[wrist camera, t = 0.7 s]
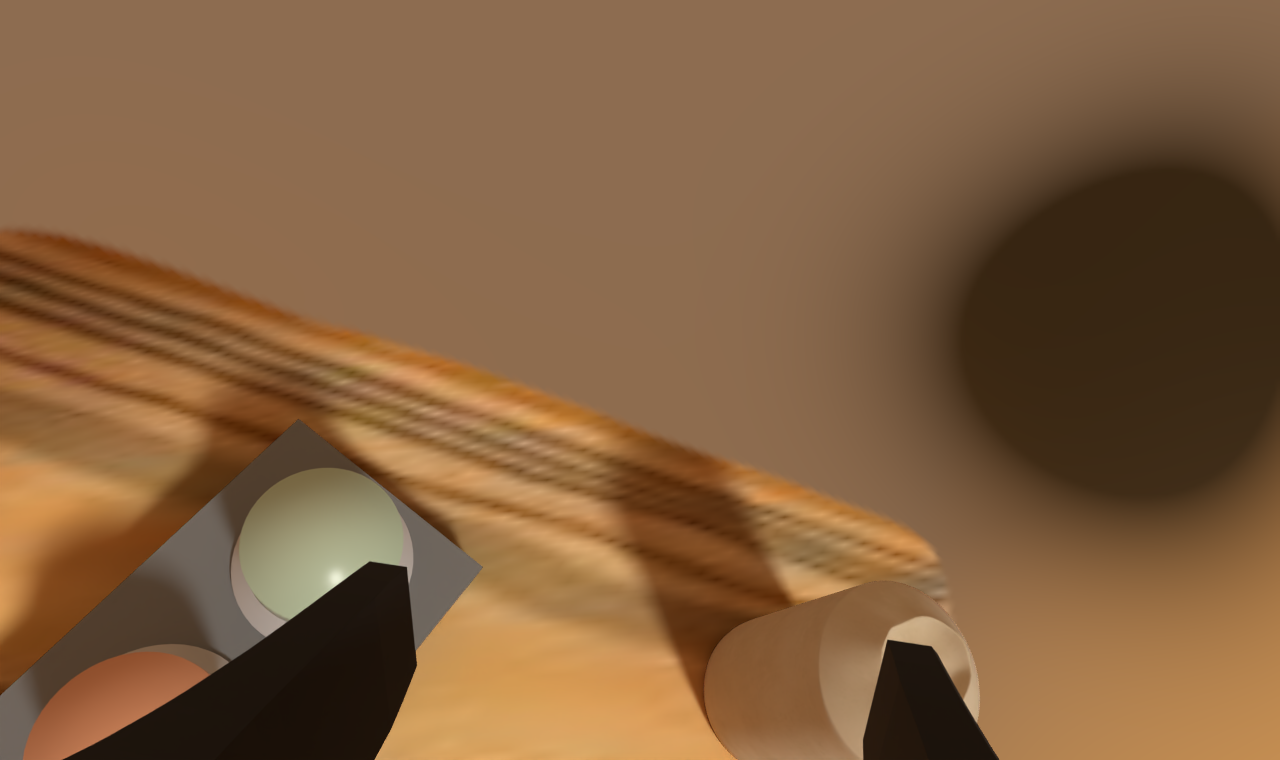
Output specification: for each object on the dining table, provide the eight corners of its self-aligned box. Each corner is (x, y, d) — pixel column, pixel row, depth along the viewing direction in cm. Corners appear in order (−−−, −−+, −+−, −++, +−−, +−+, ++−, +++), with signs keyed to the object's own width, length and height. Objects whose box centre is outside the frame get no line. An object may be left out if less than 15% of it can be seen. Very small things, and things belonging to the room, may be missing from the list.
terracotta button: (135, 881, 20) (122, 889, 19) (-4, 769, 20) (-26, 770, 19) (272, 723, 22) (268, 721, 21) (147, 623, 22) (136, 615, 21)
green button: (328, 659, 23) (327, 654, 22) (209, 563, 23) (201, 552, 22) (430, 541, 26) (434, 530, 24) (321, 453, 26) (320, 438, 24)
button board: (-31, 1203, 20) (-71, 1251, 18) (-290, 996, 20) (-357, 1022, 18) (474, 577, 29) (483, 565, 27) (301, 438, 29) (298, 416, 27)
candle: (792, 806, 30) (977, 829, 21) (674, 712, 30) (811, 697, 21) (853, 676, 33) (1039, 650, 24) (745, 590, 32) (892, 532, 24)
